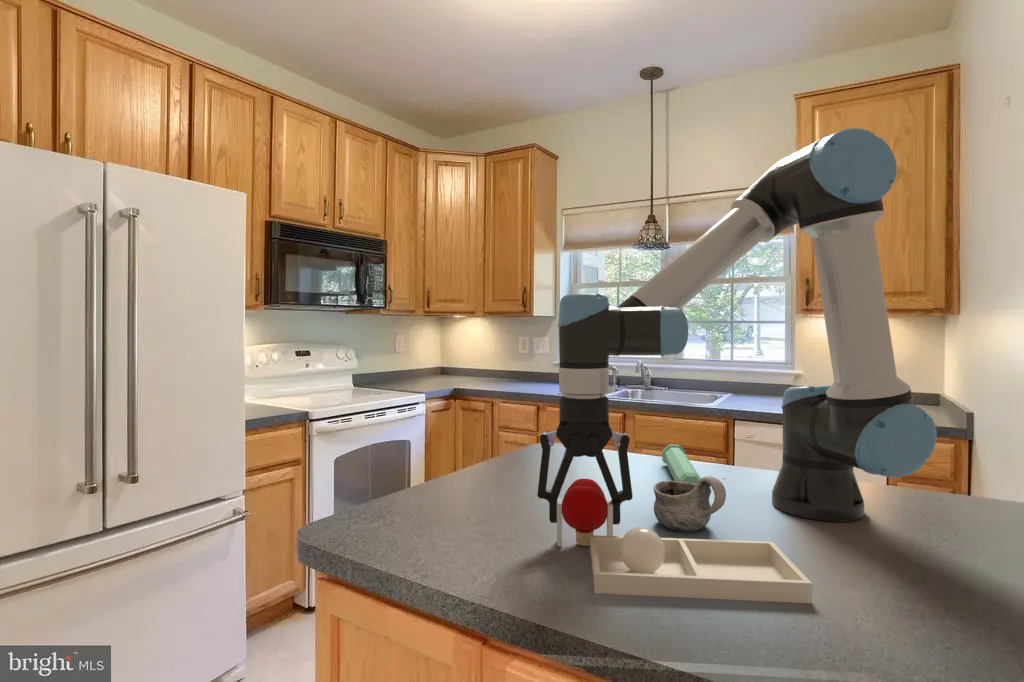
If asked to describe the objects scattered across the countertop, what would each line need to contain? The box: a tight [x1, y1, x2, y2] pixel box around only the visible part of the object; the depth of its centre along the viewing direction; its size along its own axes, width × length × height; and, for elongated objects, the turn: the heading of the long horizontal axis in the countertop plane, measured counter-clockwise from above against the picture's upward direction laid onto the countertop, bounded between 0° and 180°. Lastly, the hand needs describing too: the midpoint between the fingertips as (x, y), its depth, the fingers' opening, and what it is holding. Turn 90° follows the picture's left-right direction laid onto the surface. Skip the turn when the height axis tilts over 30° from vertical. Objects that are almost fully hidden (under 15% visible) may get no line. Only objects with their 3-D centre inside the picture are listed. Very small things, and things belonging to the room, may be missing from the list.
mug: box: [653, 476, 727, 533], centre depth 92 cm, size 10×12×10 cm
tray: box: [590, 534, 813, 604], centre depth 74 cm, size 26×13×3 cm, turn 84°
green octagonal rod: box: [661, 444, 702, 484], centre depth 123 cm, size 6×6×25 cm
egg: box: [620, 526, 665, 574], centre depth 75 cm, size 6×6×6 cm
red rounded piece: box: [562, 478, 607, 547], centre depth 85 cm, size 9×7×10 cm
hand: (584, 543), depth 85 cm, fingers closed on red rounded piece, 7 cm apart
